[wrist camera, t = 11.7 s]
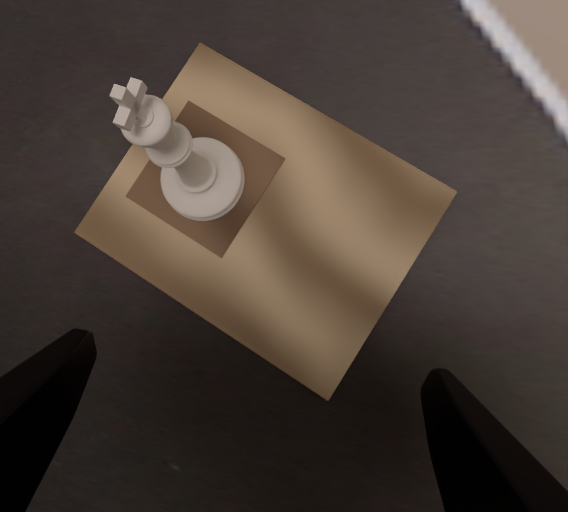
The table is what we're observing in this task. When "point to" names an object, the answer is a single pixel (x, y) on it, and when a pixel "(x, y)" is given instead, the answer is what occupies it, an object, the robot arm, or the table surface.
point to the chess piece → (180, 155)
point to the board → (274, 224)
